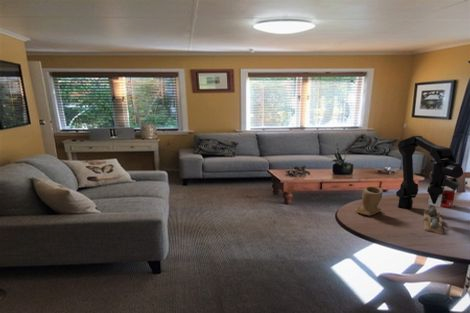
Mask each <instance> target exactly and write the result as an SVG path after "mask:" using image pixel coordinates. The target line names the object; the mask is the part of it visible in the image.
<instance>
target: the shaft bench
mask: <svg viewBox="0 0 470 313" xmlns="http://www.w3.org/2000/svg"><path fill="white" fill-rule="evenodd" d="M427 208H428V209H427V210H426V209H424V210H423V225H424V226H423V227H424V228H423V229H424V231H425V232H429V233H435V234H440V235H444V229H443V218H442V217H441V213H440V212H437V208H436V206H433V205H429V207H427Z"/></svg>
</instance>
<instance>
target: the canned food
mask: <svg viewBox="0 0 470 313" xmlns="http://www.w3.org/2000/svg"><path fill="white" fill-rule="evenodd" d="M441 187H442V186H441ZM444 188H445V189H444V191H443V194H442V202H441V205H440V207H441V208H447V209H449V208H450V209H451V208H452V207H453V204H454V200H455V194H456V190H452V189H451V188H449V187H447V186H445V187H444Z"/></svg>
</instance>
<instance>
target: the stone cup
mask: <svg viewBox="0 0 470 313" xmlns="http://www.w3.org/2000/svg"><path fill="white" fill-rule="evenodd" d="M361 194H362V195H361V196H362V197H361V200H362V205H360V206H358V207H357V208H355V211H356V213H359V214H361V215H364V216H374V215H375V214H377V213H379V212H380V211H382V208H381V207H380V206H379V204H380V202H381V200H382V197H383V191H382V189H381V188H379V187H377V186H373V185H369V186H366V187H365V188H364V189H363V191H362V193H361Z"/></svg>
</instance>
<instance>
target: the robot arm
mask: <svg viewBox="0 0 470 313" xmlns="http://www.w3.org/2000/svg"><path fill="white" fill-rule="evenodd" d="M397 146H398V151H399V153H400V155H401V156H402V177H403V179H402V182H401V184H400V186H399V187H400V188H399V189H398V190H397V191H396V192H395V195H396V197H397V198H398V205H397V208H400V209H407V210H412V208H413V202H414V200H413V199H415V198H416V197H417V195H418V194H419V184H418V183H416V182H415V181H414V162H413V161H414V159H413V158H414V157H413V155H414V154H415V152H416V148H417V147H420V148H422V149H423V150H425V151H426V152H428V153H429V156H430V157H432V159H430V163H433V164H432V170H431V175H430V178H431V179H430V182H429V186H428V187H427V193H428V194H429V195H430V197H431V200H432V203H433V204H436V201H437V199H438V196H439V195H441V194H443V191H444V189H445V188H444V187H445V186H447V187H449V188H451V189H452V190H455V191H456V190H457V189H458V188H459V187H460V182H458V179H459V178H461V177H462V175H463V173H464V169H463V167H461V164H460V163H458V162H457V160H456V158H455V156H454V154H453V152H452V149H451V148H450V147H447V146H443V145H439V144H435V143H434V142H432V141H430V140H429V139H427V138H425V137H423V136H422V135H412V136H411V137H408V138H405V139H401V140H400V141H399V142H398V144H397ZM447 176H448V177H451V178H448V177H447ZM441 186H442V187H441Z"/></svg>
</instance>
